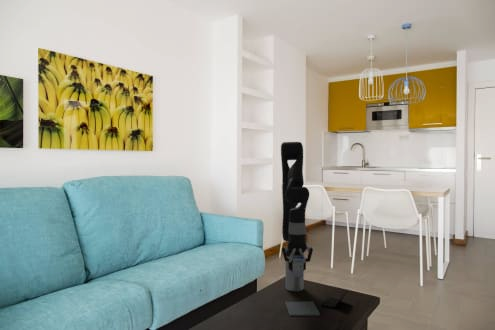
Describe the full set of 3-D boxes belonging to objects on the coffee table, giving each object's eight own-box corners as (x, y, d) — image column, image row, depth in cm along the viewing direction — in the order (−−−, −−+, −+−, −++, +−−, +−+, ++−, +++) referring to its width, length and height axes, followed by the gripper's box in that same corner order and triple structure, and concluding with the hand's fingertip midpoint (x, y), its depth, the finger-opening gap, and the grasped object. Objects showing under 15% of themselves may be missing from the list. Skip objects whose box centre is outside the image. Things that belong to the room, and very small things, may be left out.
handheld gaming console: (323, 295, 172) (336, 280, 169) (335, 305, 171) (348, 290, 168) (320, 307, 162) (334, 292, 159) (333, 318, 160) (347, 303, 157)
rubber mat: (285, 303, 166) (285, 301, 166) (313, 302, 167) (313, 301, 167) (289, 316, 152) (289, 314, 152) (320, 315, 153) (320, 314, 153)
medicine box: (290, 271, 163) (290, 252, 163) (300, 271, 163) (300, 252, 163) (293, 277, 155) (293, 257, 155) (303, 276, 156) (303, 256, 155)
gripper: (280, 233, 156) (280, 272, 156) (314, 234, 155) (314, 273, 155) (281, 230, 164) (281, 267, 164) (313, 230, 162) (313, 268, 162)
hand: (297, 270), depth 159 cm, fingers closed on medicine box, 4 cm apart
